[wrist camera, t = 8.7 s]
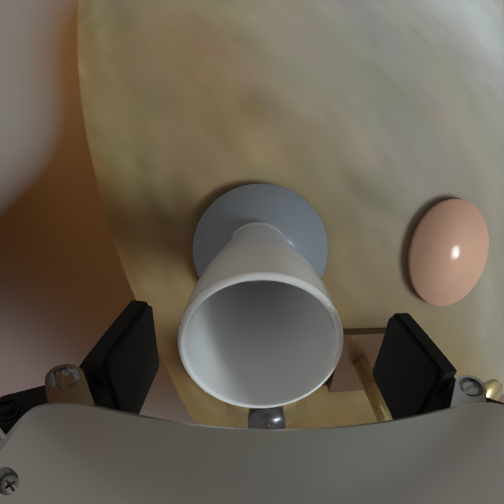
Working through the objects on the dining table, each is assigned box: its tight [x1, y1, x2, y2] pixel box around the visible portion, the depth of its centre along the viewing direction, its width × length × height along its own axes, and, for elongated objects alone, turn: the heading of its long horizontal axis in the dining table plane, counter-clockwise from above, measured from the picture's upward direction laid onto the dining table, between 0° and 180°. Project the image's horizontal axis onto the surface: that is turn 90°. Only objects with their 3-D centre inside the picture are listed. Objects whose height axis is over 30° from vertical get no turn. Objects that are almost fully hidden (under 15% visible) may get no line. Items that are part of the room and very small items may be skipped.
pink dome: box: [407, 198, 489, 306], centre depth 25 cm, size 12×12×1 cm
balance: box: [226, 328, 502, 429], centre depth 20 cm, size 8×29×18 cm, turn 87°
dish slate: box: [193, 183, 328, 279], centre depth 26 cm, size 12×12×1 cm
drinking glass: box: [177, 222, 344, 408], centre depth 18 cm, size 7×7×15 cm
